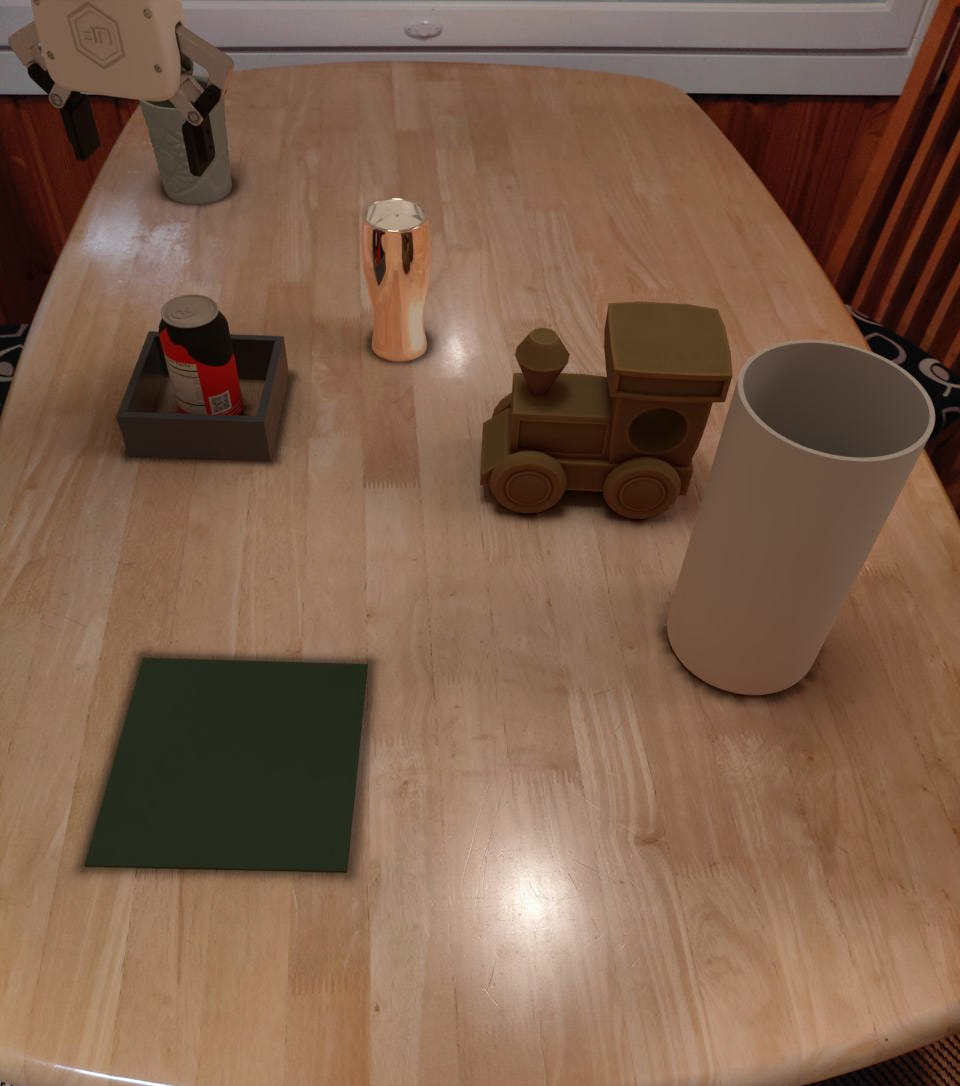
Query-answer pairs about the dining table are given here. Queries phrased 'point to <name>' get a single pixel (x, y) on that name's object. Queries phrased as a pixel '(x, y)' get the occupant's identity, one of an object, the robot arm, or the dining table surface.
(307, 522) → the dining table surface
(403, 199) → the beer glass
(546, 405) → the wooden toy train
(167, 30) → the robot arm
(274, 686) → the mat
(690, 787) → the dining table surface
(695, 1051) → the dining table surface
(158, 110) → the grey-green embossed pot
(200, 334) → the beverage can
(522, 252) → the dining table surface
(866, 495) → the cylinder vase
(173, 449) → the box
